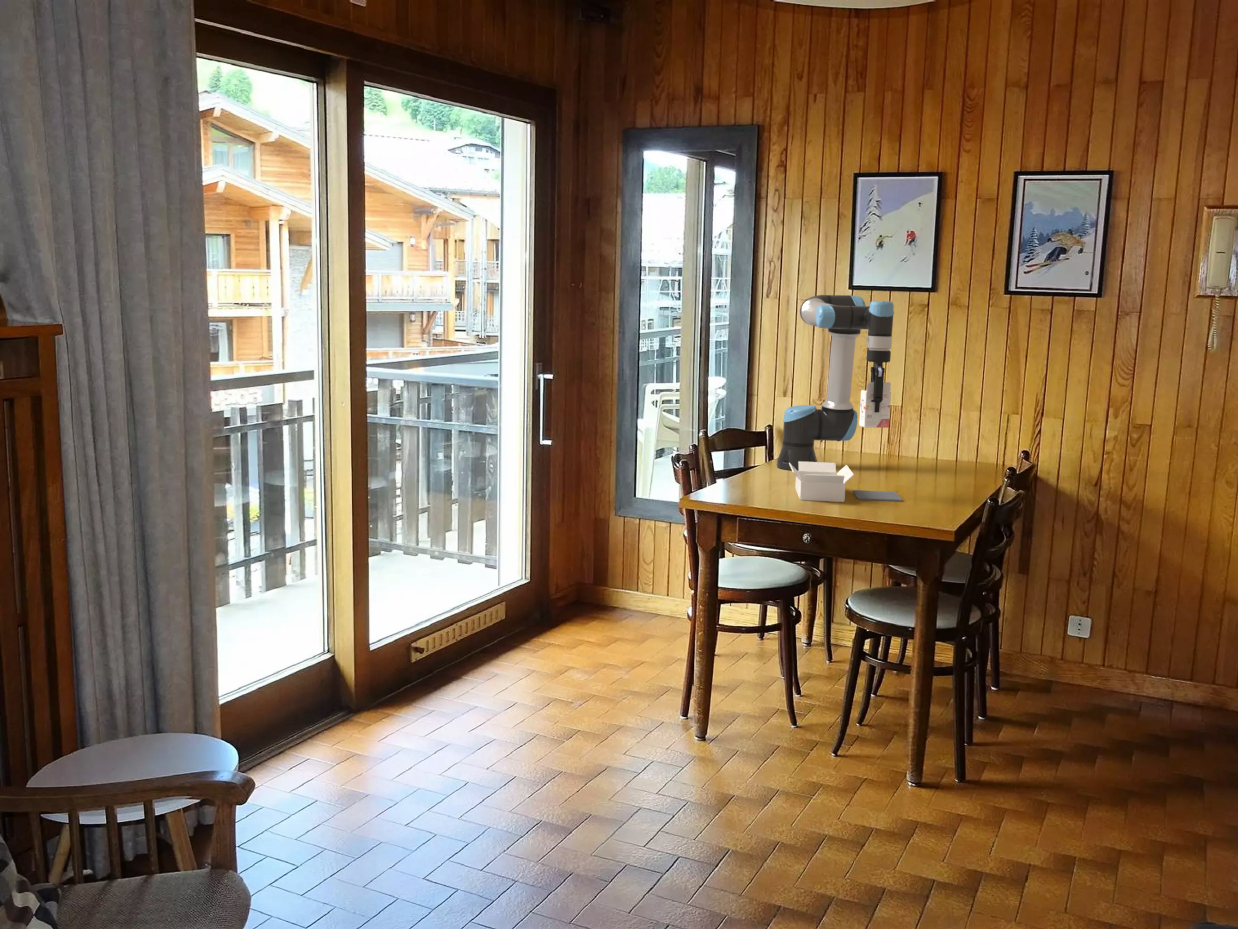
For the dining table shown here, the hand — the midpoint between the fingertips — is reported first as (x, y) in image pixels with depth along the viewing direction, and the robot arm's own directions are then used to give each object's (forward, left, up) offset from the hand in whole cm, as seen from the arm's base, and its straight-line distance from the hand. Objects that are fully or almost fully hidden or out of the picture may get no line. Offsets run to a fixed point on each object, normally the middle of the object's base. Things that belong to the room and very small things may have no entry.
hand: (874, 420), depth 363 cm
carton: (+1, -16, -25) cm, 30 cm away
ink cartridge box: (0, 0, -2) cm, 2 cm away
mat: (0, +3, -25) cm, 25 cm away
